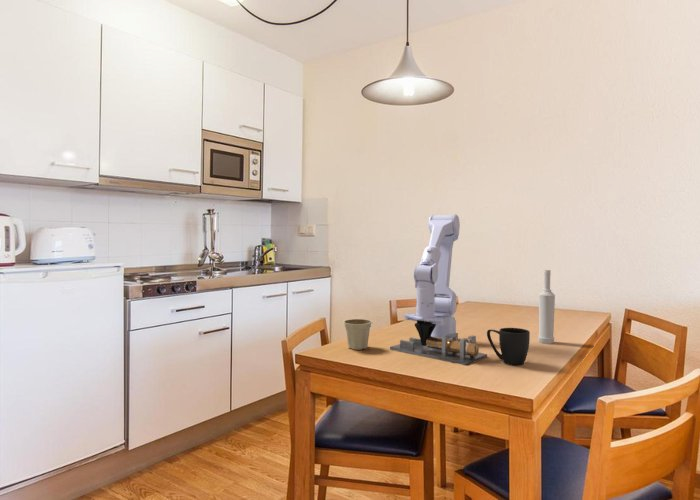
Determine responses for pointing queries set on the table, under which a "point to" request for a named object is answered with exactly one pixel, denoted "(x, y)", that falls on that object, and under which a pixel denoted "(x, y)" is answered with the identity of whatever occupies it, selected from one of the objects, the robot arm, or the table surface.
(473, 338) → the collar
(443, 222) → the robot arm
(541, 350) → the table surface
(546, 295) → the bottle
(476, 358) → the firebox plate
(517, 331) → the mug
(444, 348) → the collar
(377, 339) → the table surface
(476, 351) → the copper tube
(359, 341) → the flower pot
